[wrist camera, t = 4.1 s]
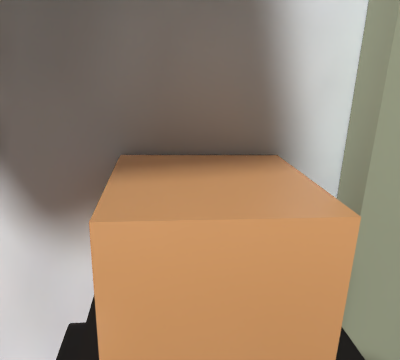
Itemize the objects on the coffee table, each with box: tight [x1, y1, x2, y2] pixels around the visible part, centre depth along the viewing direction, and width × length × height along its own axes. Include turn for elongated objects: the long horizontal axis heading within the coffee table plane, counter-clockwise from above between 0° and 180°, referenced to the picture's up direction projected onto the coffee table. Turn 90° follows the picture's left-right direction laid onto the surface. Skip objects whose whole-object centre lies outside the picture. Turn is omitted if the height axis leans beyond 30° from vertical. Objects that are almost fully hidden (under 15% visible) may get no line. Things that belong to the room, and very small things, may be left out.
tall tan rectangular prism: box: [89, 155, 361, 360], centre depth 10 cm, size 10×5×5 cm, turn 179°
